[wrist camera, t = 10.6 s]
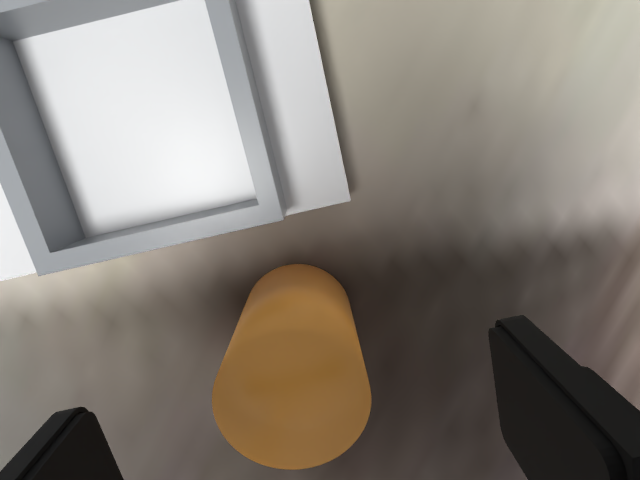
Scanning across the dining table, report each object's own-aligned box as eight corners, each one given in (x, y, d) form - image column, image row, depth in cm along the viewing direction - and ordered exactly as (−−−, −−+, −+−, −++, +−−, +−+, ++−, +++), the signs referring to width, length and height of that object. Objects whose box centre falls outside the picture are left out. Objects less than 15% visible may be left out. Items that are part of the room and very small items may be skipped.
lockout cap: (360, 349, 18) (384, 452, 12) (260, 371, 18) (236, 483, 12) (338, 253, 17) (353, 313, 11) (233, 277, 17) (192, 348, 11)
